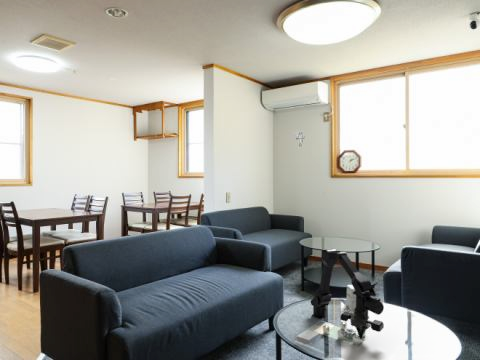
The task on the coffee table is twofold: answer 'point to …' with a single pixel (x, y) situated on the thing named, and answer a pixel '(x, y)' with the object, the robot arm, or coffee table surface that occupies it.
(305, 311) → the coffee table surface
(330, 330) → the mat
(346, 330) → the gear
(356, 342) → the spacer field
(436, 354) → the coffee table surface
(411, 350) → the coffee table surface
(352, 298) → the supplement box
